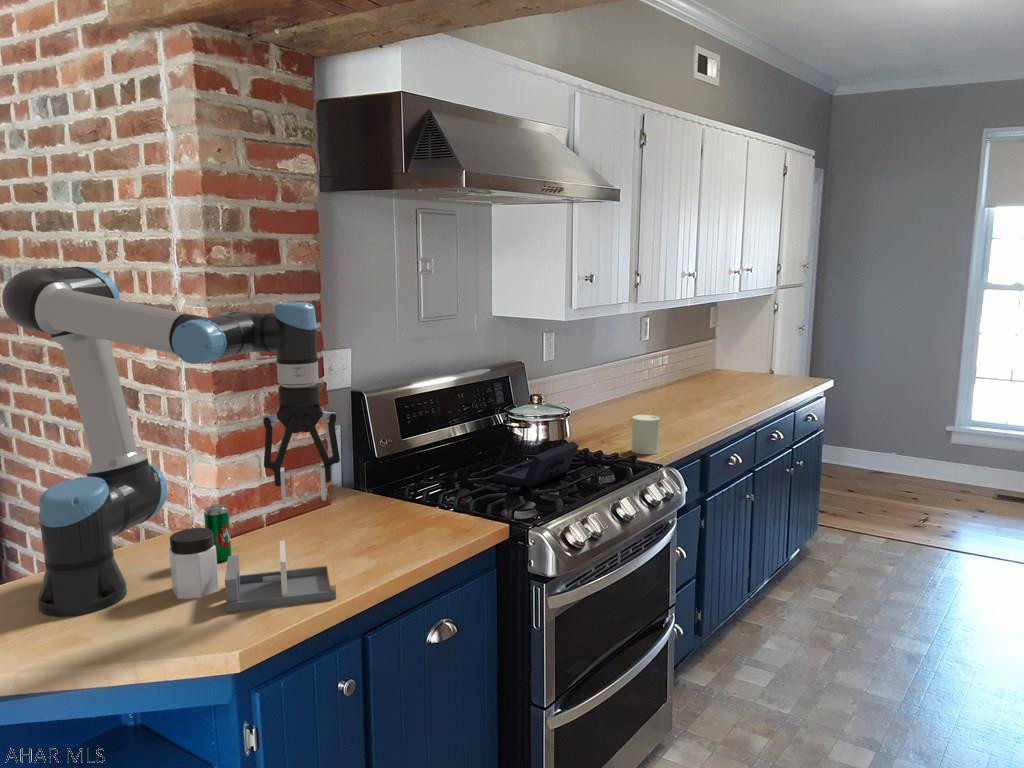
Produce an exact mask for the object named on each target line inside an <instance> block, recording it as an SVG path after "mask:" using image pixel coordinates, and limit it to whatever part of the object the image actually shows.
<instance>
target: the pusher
mask: <svg viewBox="0 0 1024 768" xmlns="http://www.w3.org/2000/svg"><path fill="white" fill-rule="evenodd" d="M286 556H287V555H286V541H285V540H279V563H280V564H279V565H280V566H279V567H280V571H281V575H274V576H265V577H263V583H268V582H276V581H281V586H282V596H288V595H287V573H286V570H287V558H286Z"/></svg>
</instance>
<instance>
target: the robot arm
mask: <svg viewBox="0 0 1024 768" xmlns="http://www.w3.org/2000/svg"><path fill="white" fill-rule="evenodd" d="M1 300H2V306H3V310H4V311H5V313H6V314H5V315H7V316H8V318H9V319H10V320H11V321H12V322H13V323H15V325H17V326H19V327H22V328H23V329H27V330H31V331H35V332H41V333H46V334H49V335H50V339H51V341H53V342H54V343H56V344H58V345H59V346H61V347H62V350H63V355H64V357H65V361H66V366H67V367H66V368H67V371H68V373H69V377H70V378H69V379H70V382H71V384H72V385H71V386H72V388H73V393H74V397H75V401H76V405H77V408H78V409H77V410H78V413H79V415H80V420H81V423H82V428H83V432H84V434H85V439H86V443H87V447H88V450H89V454H90V458H91V462H90V464H89V465H88V468H87V469H86V470H85V473H86V476H82V477H75V478H73V479H71V480H69V479H68V480H67V479H66V480H63V481H61V482H58V483H56V484H54V485H52V486H50V487H48V488H47V489H46V490H45V491H44V492H43V493H42V494H41V495H40V498H39V502H38V503H39V504H38V507H39V509H38V511H39V512H38V519H39V525H40V532H41V540H42V549H43V556H44V564H45V568H44V569H45V571H44V575H43V579H42V583H41V587H40V590H39V593H38V599H37V600H38V601H37V602H38V611H39V613H41V614H42V615H44V616H48V617H54V618H70V617H78V616H79V617H80V616H85V615H89V614H93V613H97V612H100V611H103V610H106V609H108V608H111V607H113V606H115V605H117V604H118V603H120V602H121V601H123V599H125V598H126V596H127V595H128V588H127V581H126V579H125V578H124V575H123V573H122V571H121V569H120V567H119V565H118V563H117V562H116V559H115V555H114V545H113V537H116V536H117V535H119V534H121V533H123V532H125V531H127V530H129V529H132V528H133V527H135V526H136V525H141V524H144V523H145V522H147V521H148V520H150V519H151V518H153V517H155V515H157V514H158V513H159V512H160V511H161V510H162V508H163V506H164V505H165V503H166V501H167V496H168V484H167V481H166V478H165V477H164V474H163V473H162V471H161V470H158V468H157V466H155V465H153V464H150V462H149V458H148V456H147V455H146V454H145V453H142V452H140V451H139V450H138V446H137V444H136V439H135V436H134V432H133V427H132V423H131V420H130V419H131V418H130V416H129V412H128V408H127V404H126V399H125V395H124V392H123V388H122V384H121V379H120V376H119V373H118V369H117V365H116V361H115V357H114V353H113V352H114V351H113V348H112V346H111V342H115V343H121V344H125V345H129V346H135V347H140V348H145V349H149V350H154V351H159V352H164V353H168V354H173V355H176V356H177V357H178V358H179V359H180V360H182V361H183V362H185V363H187V364H190V365H198V364H201V365H202V364H205V365H206V364H210V363H212V362H214V361H218V360H222V359H227V358H230V357H235V356H239V355H243V354H247V353H248V354H249V353H270V354H271V353H272V354H273V353H275V355H276V371H277V373H276V374H277V383H279V384H280V385H279V386H278V388H277V390H278V392H277V393H278V409H277V412H276V413H275V414H271V415H267V414H266V415H264V416H263V419H262V422H263V424H264V428H265V438H264V439H265V441H264V455H263V456H264V457H263V467H264V468H265V469H270V470H272V471H273V475H274V477H273V478H274V486H275V487H280V488H281V489H280V491H281V492H280V493H281V505H286V504H287V497H286V494H287V493H286V476H285V475H286V474H285V467H284V466H283V467H282V465H283V461H284V459H285V456H286V453H287V450H288V446H289V444H290V440H291V439H292V438H291V437H292V435H293V434H298V433H301V432H302V433H309V434H310V436H311V438H312V440H313V442H314V444H315V447H316V449H317V452H318V453H319V456H320V458H321V461H322V464H319V471H320V493H321V494H320V496H321V500H322V501H326V500H327V488H326V485H327V484H326V483H330V482H331V481H332V473H331V472H332V470H331V469H332V468H331V467H332V466H333V465H335V464H338V463H340V460H341V458H340V451H339V446H338V438H337V433H336V427H335V426H336V421H337V415H336V412H335V411H324V410H323V409H322V408H321V405H320V403H321V402H320V386H319V385H318V384H317V382H319V380H320V379H319V362H318V361H319V360H318V344H317V343H318V341H317V340H318V339H317V338H318V337H317V334H318V333H317V329H318V325H317V320H316V319H317V318H316V310H315V306H314V305H313V304H311V302H303V301H297V302H294V301H293V302H292V301H291V302H290V301H289V302H278V303H276V304H275V305H274V306H273V312H246V311H245V312H242V311H238V310H237V311H231V312H228V311H227V312H222V313H220V314H218V316H213V317H206V316H201V315H196V314H191V313H185V312H182V311H175V310H171V309H166V308H161V307H157V306H150V305H147V304H141V303H136V302H132V301H126V300H121V296H120V291H119V289H118V287H117V285H116V284H115V282H114V281H113V280H112V278H111V277H110V276H109V275H107V274H106V273H104V272H103V271H101V270H99V269H96V268H94V267H93V268H92V267H83V266H67V267H50V268H49V267H47V268H41V267H40V268H39V267H38V268H30V269H25V270H23V271H20V272H18V273H16V274H15V275H14V276H12V277H11V278H10V279H9V280H8V281H7V283H6V284H5V286H4V288H3V290H2V296H1ZM322 418H324V419H323V420H324V423H325V424H327V428H328V436H329V443H330V448H331V456H329V455H328V452H327V451H326V449H325V447H324V443H323V441H322V439H321V437H320V435H319V432H318V430H317V427H316V425H317V424H318V423H319V421H320V420H321V419H322ZM277 421H279V422H280V423H281V424H282V426H284V431H283V435H282V439H281V441H280V444H279V447H278V450H277V454H276V456H275V460H274V461H273V460H272V459H271V458H272V448H273V447H272V446H273V445H272V444H273V428H274V427H276V424H277V423H276V422H277Z"/></svg>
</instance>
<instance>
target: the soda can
mask: <svg viewBox="0 0 1024 768" xmlns="http://www.w3.org/2000/svg"><path fill="white" fill-rule="evenodd" d="M203 516H204V517H203V518H204V519H203V520H204V521H203V522H204V528H207V529H210V530H212V531H213V534H214V545H215V546H216V556H217V564H220V562H221V563H224V561H225V562H227V561H228V556H233V555H232V542H231V541H232V540H231V527H230V512H229V509H228V508H227V504H223V503H215V504H210V505H208V506H206V507H205V510H204V512H203Z"/></svg>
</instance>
